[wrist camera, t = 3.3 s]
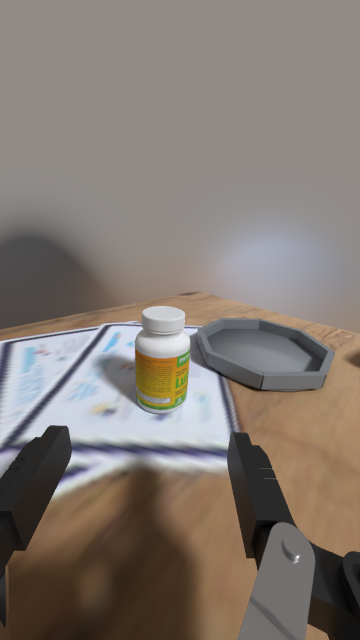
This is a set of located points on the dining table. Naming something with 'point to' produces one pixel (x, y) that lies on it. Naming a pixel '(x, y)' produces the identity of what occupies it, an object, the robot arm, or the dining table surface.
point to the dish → (265, 354)
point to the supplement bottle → (162, 360)
